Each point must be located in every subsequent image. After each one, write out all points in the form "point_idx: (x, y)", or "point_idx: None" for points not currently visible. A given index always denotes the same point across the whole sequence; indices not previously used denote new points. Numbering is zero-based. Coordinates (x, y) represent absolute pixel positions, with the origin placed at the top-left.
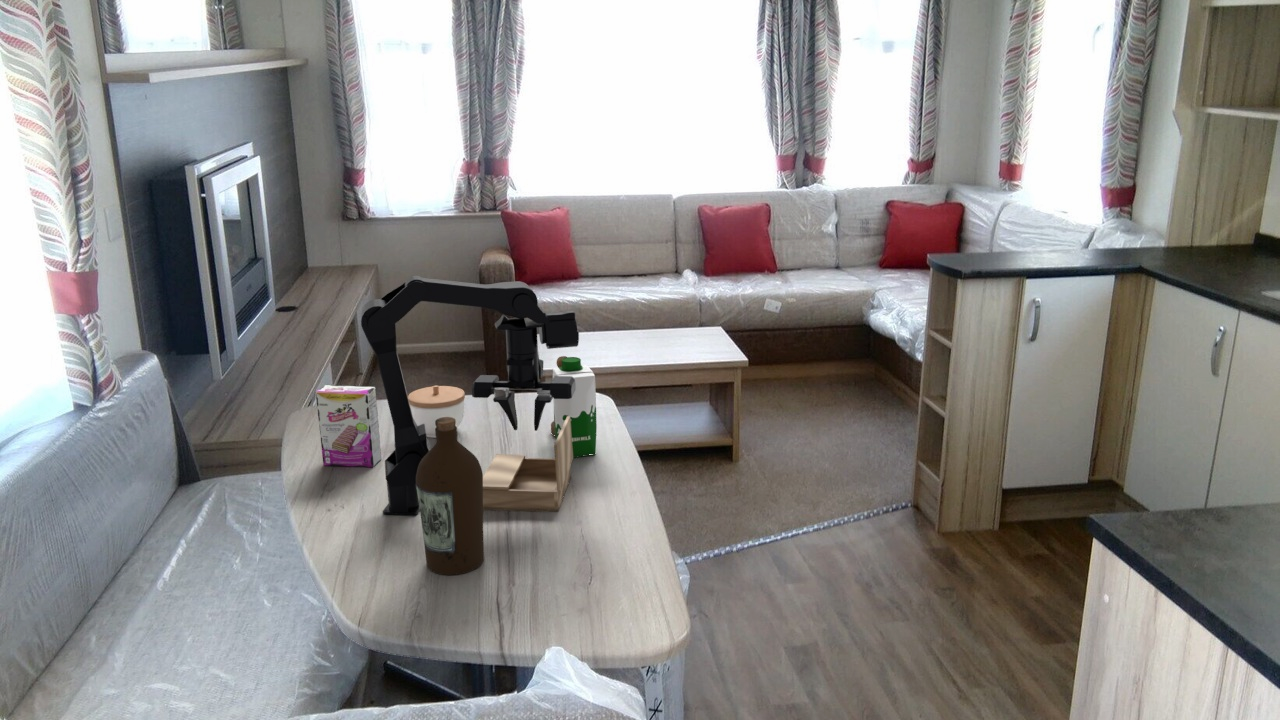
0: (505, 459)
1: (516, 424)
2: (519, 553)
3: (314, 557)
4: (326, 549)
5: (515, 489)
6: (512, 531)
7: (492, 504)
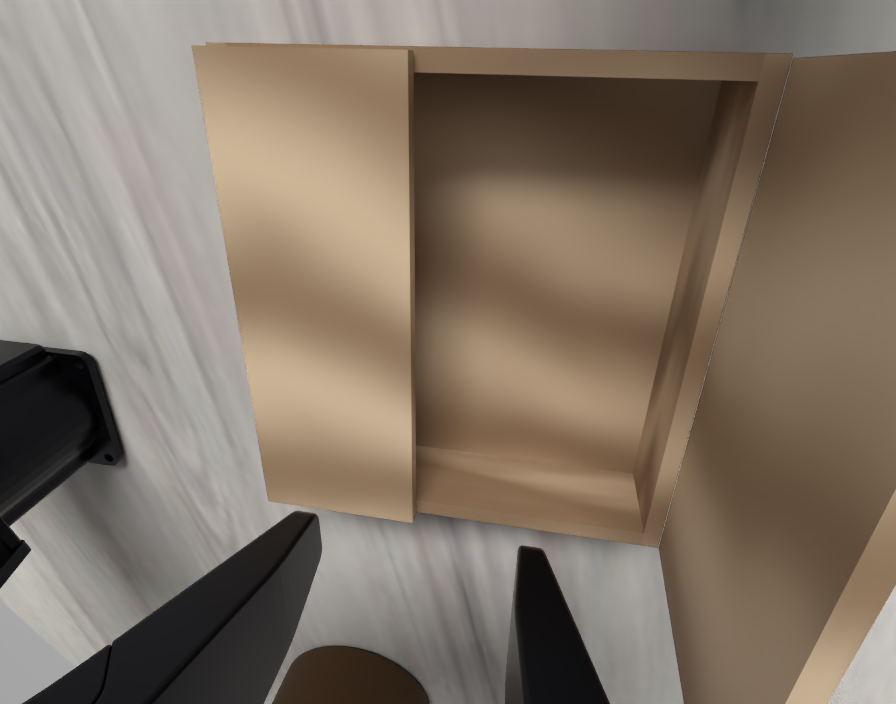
0: (290, 154)
1: (296, 592)
2: None
3: (29, 624)
4: (26, 598)
5: (422, 286)
6: (478, 584)
7: None
